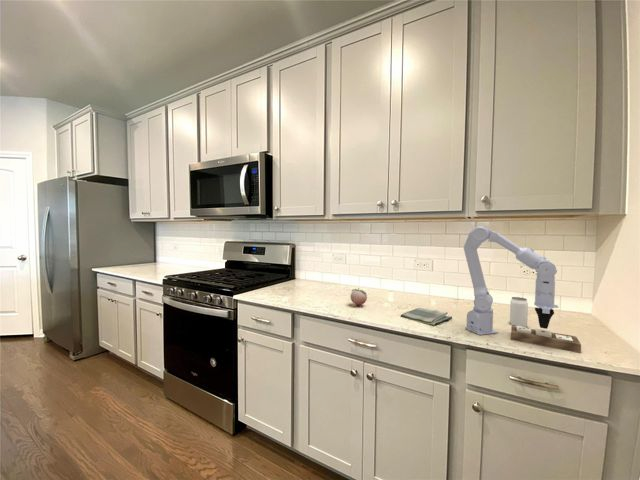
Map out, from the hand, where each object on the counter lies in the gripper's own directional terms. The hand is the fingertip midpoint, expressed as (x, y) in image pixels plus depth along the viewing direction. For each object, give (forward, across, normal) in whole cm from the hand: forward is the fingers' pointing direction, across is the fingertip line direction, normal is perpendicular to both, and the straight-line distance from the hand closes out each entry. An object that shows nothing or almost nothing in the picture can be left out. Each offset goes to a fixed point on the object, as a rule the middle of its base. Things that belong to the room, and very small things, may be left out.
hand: (543, 327), depth 106 cm
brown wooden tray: (+5, 0, 0) cm, 5 cm away
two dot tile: (+6, 0, -6) cm, 9 cm away
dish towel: (+6, +4, +44) cm, 44 cm away
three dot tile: (+4, 0, +6) cm, 7 cm away
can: (+6, +18, +7) cm, 20 cm away
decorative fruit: (+6, +3, +80) cm, 80 cm away
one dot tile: (+5, 0, 0) cm, 5 cm away
